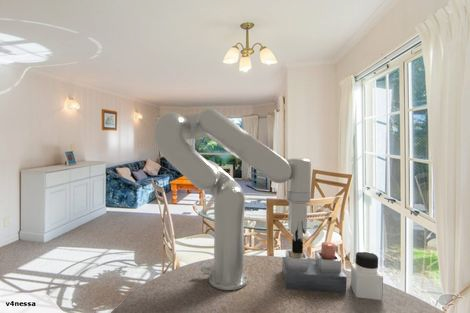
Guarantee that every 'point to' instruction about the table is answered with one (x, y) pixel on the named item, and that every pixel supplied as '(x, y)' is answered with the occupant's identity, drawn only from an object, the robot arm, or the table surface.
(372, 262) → the medicine bottle
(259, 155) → the robot arm
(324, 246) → the red plunger
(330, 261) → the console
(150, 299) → the table surface
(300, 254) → the beige ball
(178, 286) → the table surface
